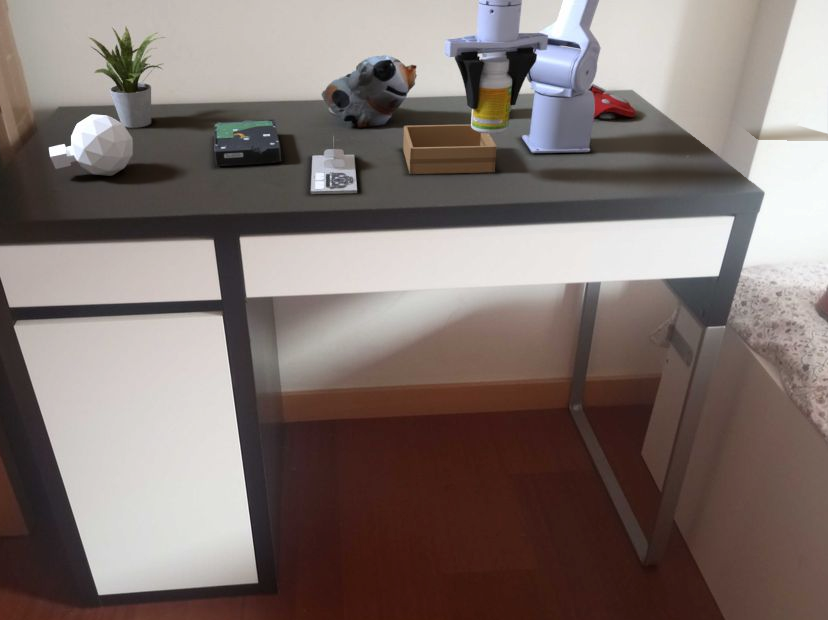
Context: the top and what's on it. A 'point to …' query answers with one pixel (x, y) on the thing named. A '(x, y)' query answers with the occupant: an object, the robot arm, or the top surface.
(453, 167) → the wooden box
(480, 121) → the supplement bottle
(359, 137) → the top surface
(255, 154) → the disk drive
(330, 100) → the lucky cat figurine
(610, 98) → the tracker holder
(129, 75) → the house plant
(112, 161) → the perfume bottle
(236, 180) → the top surface
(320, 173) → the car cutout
